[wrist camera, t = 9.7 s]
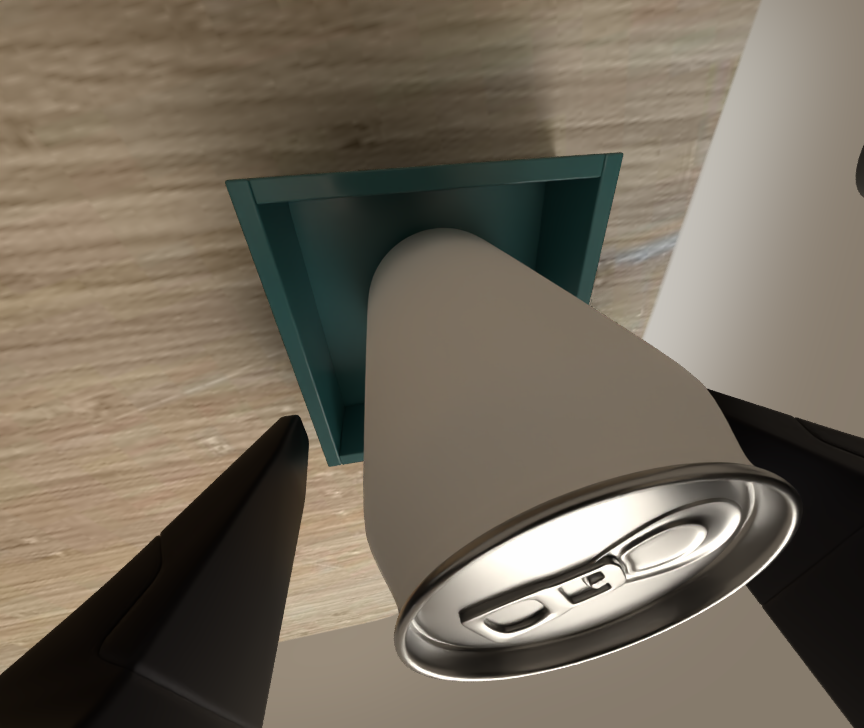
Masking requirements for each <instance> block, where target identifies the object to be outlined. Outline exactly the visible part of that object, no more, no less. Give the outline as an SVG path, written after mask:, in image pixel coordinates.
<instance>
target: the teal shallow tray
mask: <svg viewBox="0 0 864 728" xmlns="http://www.w3.org/2000/svg"><path fill="white" fill-rule="evenodd" d="M622 158H623V153H621V152H619V153H603V154H588V155H573V156H557V157H543V158H529V159H514V160H500V161H486V162H472V163H457V164H443V165H429V166H415V167H400V168H386V169H372V170H358V171H343V172H329V173H315V174H301V175H286V176H272V177H259V178H247V179H234V180H227V181H225V184H226V187H227V190H228V192H229V195H230V198H231V200H232V203H233V206H234V209H235V211H236V214H237V217H238V220H239V222H240V225H241V228H242V231H243V233H244V236H245V239H246V242H247V244H248V247H249V250H250V252H251V255H252V258H253V261H254V263H255V266H256V269H257V272H258V274H259V277H260V280H261V283H262V285H263V288H264V291H265V294H266V296H267V299H268V302H269V305H270V307H271V310H272V313H273V315H274V318H275V321H276V324H277V326H278V329H279V332H280V335H281V337H282V340H283V343H284V346H285V348H286V351H287V354H288V357H289V359H290V362H291V365H292V368H293V370H294V373H295V376H296V378H297V381H298V384H299V387H300V389H301V392H302V395H303V398H304V400H305V403H306V406H307V409H308V411H309V414H310V417H311V420H312V422H313V425H314V428H315V430H316V433H317V436H318V439H319V441H320V444H321V447H322V450H323V452H324V455H325V458H326V461H327V463H328V466H329V467H331V466H337V465H341V464H343V465H344V464H349V463H355V462H361V461H364V417H365V375H366V340H367V311H368V296H369V289H370V285H371V281H372V278H373V276H374V273H375V271H376V269H377V267H378V266H379V264H380V262H381V261H382V259H383V258H384V257H385V256H386V254H387V253H388V252H389V251H390V250H391V249H392V248H393V247H394V246H396V245H397V244H398V243H399V242H401V241H402V240H404V239H406V238H407V237H409V236H411V235H413V234H416V233H418V232H421V231H424V230H429V229H434V228H453V229H459V230H463V231H466V232H469V233H471V234H474V235H476V236H478V237H480V238H481V239H483V240H485V241H487V242H488V243H490V244H492V245H493V246H495V247H497V248H498V249H500V250H501V251H503V252H505V253H506V254H508V255H510V256H511V257H513V258H514V259H516V260H518V261H519V262H521V263H522V264H524V265H526V266H527V267H529V268H531V269H532V270H534V271H535V272H537V273H538V274H540V275H542V276H543V277H545V278H546V279H548V280H550V281H551V282H553V283H554V284H556V285H558V286H559V287H561V288H562V289H564V290H566V291H567V292H569V293H570V294H572V295H573V296H575V297H577V298H578V299H580V300H581V301H583V302H585V303H586V304H588V305H589V302H590V297H591V293H592V288H593V284H594V280H595V275H596V271H597V267H598V262H599V258H600V254H601V249H602V245H603V241H604V236H605V232H606V228H607V223H608V219H609V215H610V210H611V206H612V202H613V197H614V193H615V189H616V184H617V180H618V176H619V171H620V167H621V163H622Z"/></svg>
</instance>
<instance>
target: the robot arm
mask: <svg viewBox="0 0 864 728" xmlns="http://www.w3.org/2000/svg"><path fill="white" fill-rule="evenodd" d="M706 389H707V388H706ZM707 390H708V391H709V393H710V394H711V395H712V397H713V398H714V400H715V401H716V403H717V404H718V406H719V408H720V410H721V411H722V413H723V415H724V417H725V418H726V420H727V422H728V424H729V426H730V428H731V430H732V432H733V434H734V436H735V438H736V440H737V442H738V443H739V445H740V447H741V449H742V451H743V452H744V454H745V456H746V457H747V459H748V460H749V461H750V462H751V463H752V464H753V465H754V466H755V467H759V468H762V469H765V470H767V471H770V472H772V473H774V474H776V475H778V476H780V477H781V478H783V479H785V480H786V481H787V482H788V483H790V484H791V485H792V486H793V487H794V488H795V490H796V491H797V492H798V494H799V496H800V498H801V501H802V507H803V513H802V519H801V522H800V525H799V528H798V530H797V532H796V534H795V535H794V537H793V538H792V540H791V541H790V543H789V544H788V545H787V547H786V548H785V549H784V550H783V552H782V553H781V554H780V555H779V556H778V557H777V558H776V559H775V560H774V561H773V562H772V563H771V564H770V565H769V566H768V567H767V568H766V569H764V570H763V571H762V572H761V573H760V574H759V575H757V576H756V577H755V578H754V579H752V580H751V581H750V582H748V583H747V584H746V586H747V587H748V589H749V590H750V591H751V593H752V594H753V595H754V596H755V598H756V599H757V601H758V602H759V603H760V604H761V605H762V607H763V609H764V610H765V612H766V613H767V614H768V616H769V617H770V618H771V620H772V621H773V622H774V623H775V624H776V626H777V627H778V629H779V630H780V631H781V633H782V634H783V635H784V637H785V638H786V639H787V641H788V642H789V643H790V644H791V646H792V647H793V649H794V650H795V651H796V652H797V653H798V655H799V656H800V658H801V659H802V660H803V661H804V663H805V664H806V666H807V667H808V668H809V670H810V671H811V672H812V673H813V675H814V676H815V678H816V679H817V680H818V682H819V683H820V684H821V685H822V687H823V688H824V689H825V691H826V692H827V693H828V695H829V696H830V697H831V699H832V700H833V701H834V703H835V704H836V705H837V707H838V708H839V709H840V710H841V712H842V713H843V714H844V716H845V717H846V718H847V720H848V721H849V722H850V724H851V725H852V726H853V727H854V728H864V438H861V437H857V436H854V435H851V434H847V433H844V432H841V431H838V430H834V429H831V428H828V427H825V426H822V425H818V424H816V423H812V422H809V421H806V420H803V419H799V418H794V417H792V416H790V415H787V414H784V413H781V412H778V411H775V410H772V409H769V408H766V407H763V406H759V405H756V404H753V403H750V402H747V401H744V400H741V399H738V398H734V397H731V396H728V395H725V394H722V393H719V392H716V391H713V390H710V389H707ZM308 451H309V440H308V436H307V433H306V431H305V428H304V426H303V423H302V420H301V418H300V417H299V416H298V415H290V416H284V417H281V418H280V419H279V420H278V421H277V422H276V423H275V424H274V425H273V426H272V427H270V428H269V429H268V430H267V431H266V432H265V433H264V434H263V435H262V436H261V437H260V438H259V439H258V440H257V441H256V442H255V443H254V444H253V445H252V446H251V447H250V448H248V449H247V450H246V451H245V452H244V453H243V454H242V455H241V456H240V457H239V458H238V459H237V460H236V461H235V462H234V463H233V464H232V465H231V466H230V467H229V468H228V469H226V470H225V471H224V472H223V473H222V474H221V475H220V476H219V477H218V478H217V479H216V480H215V481H214V482H213V483H212V484H211V485H210V486H209V487H208V488H207V489H206V490H204V491H203V492H202V493H201V494H200V495H199V496H198V497H197V498H196V499H195V500H194V501H193V502H192V503H191V504H190V505H189V506H188V507H187V508H186V509H185V510H184V511H182V512H181V513H180V514H179V515H178V516H177V517H176V518H175V519H174V520H173V521H172V522H171V523H170V524H169V525H168V526H167V527H166V528H165V529H164V530H163V531H162V532H161V534H160V536H156V537H155V538H154V539H153V540H152V541H151V542H150V543H149V544H148V545H147V546H146V547H145V548H144V549H142V550H141V551H140V552H139V553H138V554H137V555H136V556H135V557H134V558H133V559H132V560H131V561H130V562H129V563H127V564H126V565H125V566H124V567H123V568H122V569H121V570H120V571H119V572H118V573H117V574H116V575H115V576H113V577H112V578H111V579H110V580H109V581H108V582H107V583H106V584H105V585H104V586H102V587H101V588H100V589H99V590H98V591H97V592H96V593H94V594H93V595H92V596H91V597H90V598H89V599H88V600H86V601H85V602H84V603H83V604H82V605H81V606H80V607H78V608H77V609H76V610H75V611H74V612H73V613H72V614H71V615H69V616H68V617H67V618H66V619H65V620H64V621H62V622H61V623H60V624H59V625H58V626H57V627H55V628H54V629H53V630H52V631H51V632H50V633H48V634H47V635H46V636H45V637H44V638H43V639H41V640H40V641H39V642H38V643H37V644H36V645H34V646H33V647H32V648H31V649H30V650H29V651H28V652H26V653H25V654H24V655H23V656H22V657H21V658H19V659H18V660H17V661H16V662H15V663H14V664H12V665H11V666H10V667H9V668H8V669H7V670H5V671H4V672H3V673H2V674H1V675H0V728H262V725H263V720H264V715H265V709H266V704H267V699H268V694H269V688H270V683H271V678H272V672H273V667H274V662H275V657H276V651H277V646H278V641H279V635H280V630H281V625H282V620H283V614H284V609H285V604H286V598H287V593H288V588H289V582H290V577H291V572H292V567H293V561H294V556H295V551H296V545H297V540H298V535H299V529H300V524H301V519H302V514H303V508H304V502H305V494H306V480H307V466H308Z"/></svg>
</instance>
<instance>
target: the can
mask: <svg viewBox="0 0 864 728" xmlns="http://www.w3.org/2000/svg"><path fill="white" fill-rule="evenodd" d="M363 491H364V520H365V530H366V536H367V540H368V543H369V546H370V549H371V552H372V554H373V557H374V559H375V561H376V563H377V565H378V568H379V570H380V572H381V574H382V576H383V578H384V580H385V581H386V583H387V585H388V587H389V589H390V591H391V593H392V595H393V597H394V599H395V602H396V604H397V607H398V611H399V616H398V618H397V622H396V625H395V632H394V643H395V649H396V652H397V654H398V656H399V658H400V659H401V661H402V662H403V663H404V664H405V665H406V666H407V667H409V668H410V669H411V670H413V671H415V672H417V673H419V674H422V675H424V676H427V677H431V678H435V679H441V680H449V681H463V682H465V681H466V682H472V681H473V682H474V681H492V680H502V679H509V678H517V677H523V676H528V675H534V674H539V673H543V672H548V671H552V670H556V669H560V668H564V667H568V666H571V665H575V664H579V663H582V662H585V661H589V660H592V659H595V658H598V657H601V656H604V655H607V654H610V653H612V652H616V651H618V650H621V649H624V648H626V647H629V646H631V645H634V644H636V643H639V642H641V641H644V640H646V639H648V638H651V637H653V636H655V635H658V634H660V633H662V632H664V631H666V630H669V629H670V628H673V627H675V626H676V625H679V624H681V623H683V622H685V621H687V620H689V619H691V618H692V617H694V616H696V615H698V614H700V613H702V612H703V611H705V610H707V609H709V608H710V607H712V606H714V605H716V604H717V603H719V602H720V601H722V600H724V599H725V598H727V597H728V596H730V595H731V594H733V593H734V592H736V591H737V590H739V589H740V588H742V587H743V586H744V585H746V584H747V583H748V582H750V581H751V580H752V579H754V578H755V577H756V576H757V575H759V574H760V573H761V572H762V571H763V570H764V569H766V568H767V567H768V566H769V565H770V564H771V563H772V562H773V561H774V560H775V559H776V558H777V557H778V556H779V555H780V554H781V553H782V552H783V550H784V549H785V548H786V547H787V545H788V544H789V543H790V541H791V540H792V538H793V537H794V535H795V534H796V532H797V530H798V528H799V525H800V522H801V519H802V513H803V507H802V501H801V498H800V496H799V494H798V492H797V491H796V490H795V488H794V487H793V486H792V485H791V484H790V483H788V482H787V481H786V480H785V479H783V478H781V477H780V476H778V475H776V474H774V473H772V472H770V471H767V470H765V469H762V468H759V467H755V466H754V465H753V464H752V463H751V462H750V461H749V460H748V459H747V457H746V456H745V454H744V452H743V451H742V449H741V447H740V445H739V443H738V442H737V440H736V438H735V436H734V434H733V432H732V430H731V428H730V426H729V424H728V422H727V420H726V418H725V417H724V415H723V413H722V411H721V410H720V408H719V406H718V404H717V403H716V401H715V400H714V398H713V397H712V395H711V394H710V393H709V391H708V390H707V389H706V387H705V386H704V385H703V384H702V383H701V382H700V381H699V380H698V379H697V378H695V377H694V376H693V375H691V373H689V372H688V371H687V370H686V369H685V368H683V367H682V366H681V365H679V364H678V363H677V362H675V361H674V360H672V359H671V358H669V357H668V356H666V355H665V354H663V353H662V352H660V351H659V350H658V349H656V348H655V347H653V346H652V345H650V344H649V343H647V342H646V341H644V340H643V339H641V338H639V337H638V336H636V335H635V334H633V333H632V332H630V331H629V330H627V329H625V328H624V327H622V326H621V325H619V324H618V323H616V322H615V321H613V320H611V319H610V318H608V317H607V316H605V315H604V314H602V313H600V312H599V311H597V310H596V309H594V308H592V307H591V306H589V305H588V304H586V303H585V302H583V301H581V300H580V299H578V298H577V297H575V296H573V295H572V294H570V293H569V292H567V291H566V290H564V289H562V288H561V287H559V286H558V285H556V284H554V283H553V282H551V281H550V280H548V279H546V278H545V277H543V276H542V275H540V274H538V273H537V272H535V271H534V270H532V269H531V268H529V267H527V266H526V265H524V264H522V263H521V262H519V261H518V260H516V259H514V258H513V257H511V256H510V255H508V254H506V253H505V252H503V251H501V250H500V249H498V248H497V247H495V246H493V245H492V244H490V243H488V242H487V241H485V240H483V239H481V238H480V237H478V236H476V235H474V234H471V233H469V232H466V231H463V230H459V229H453V228H434V229H429V230H424V231H421V232H418V233H416V234H413V235H411V236H409V237H407V238H406V239H404V240H402V241H401V242H399V243H398V244H397V245H396V246H394V247H393V248H392V249H391V250H390V251H389V252H388V253H387V254H386V256H385V257H384V258H383V259H382V261H381V262H380V264H379V266H378V267H377V269H376V271H375V273H374V276H373V278H372V281H371V285H370V289H369V296H368V311H367V340H366V375H365V417H364V475H363Z"/></svg>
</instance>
